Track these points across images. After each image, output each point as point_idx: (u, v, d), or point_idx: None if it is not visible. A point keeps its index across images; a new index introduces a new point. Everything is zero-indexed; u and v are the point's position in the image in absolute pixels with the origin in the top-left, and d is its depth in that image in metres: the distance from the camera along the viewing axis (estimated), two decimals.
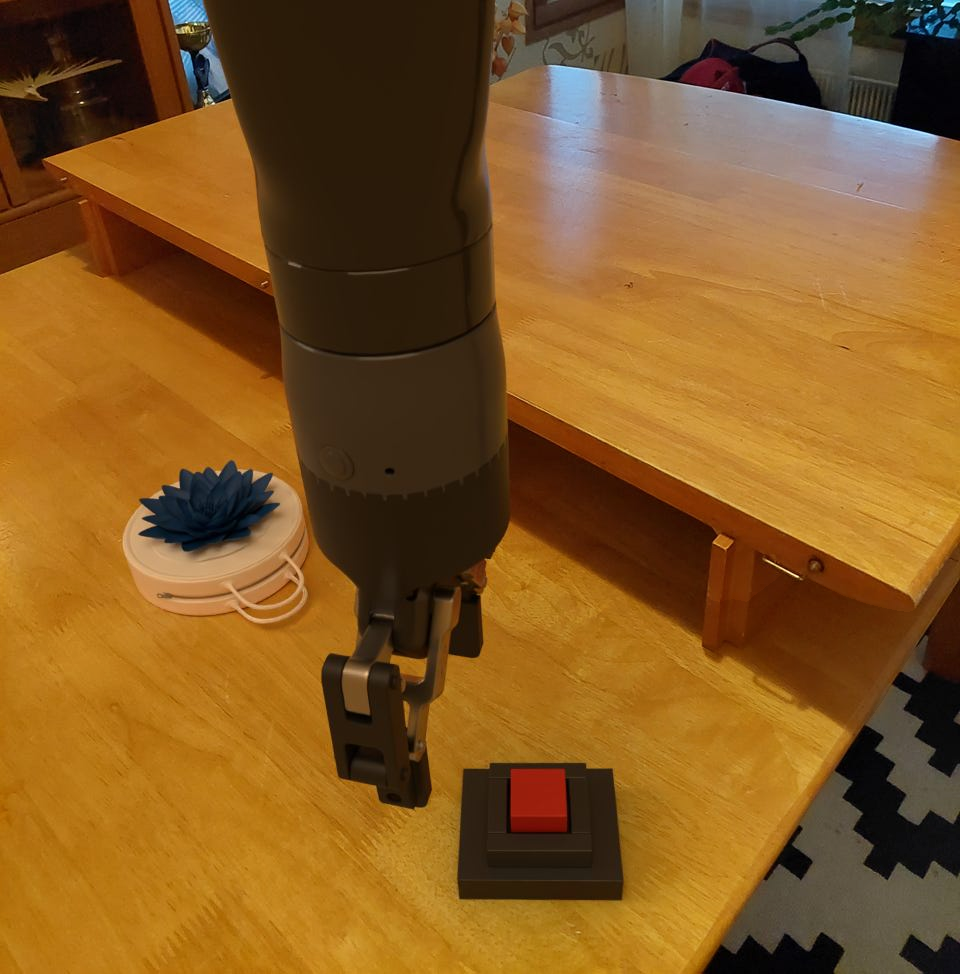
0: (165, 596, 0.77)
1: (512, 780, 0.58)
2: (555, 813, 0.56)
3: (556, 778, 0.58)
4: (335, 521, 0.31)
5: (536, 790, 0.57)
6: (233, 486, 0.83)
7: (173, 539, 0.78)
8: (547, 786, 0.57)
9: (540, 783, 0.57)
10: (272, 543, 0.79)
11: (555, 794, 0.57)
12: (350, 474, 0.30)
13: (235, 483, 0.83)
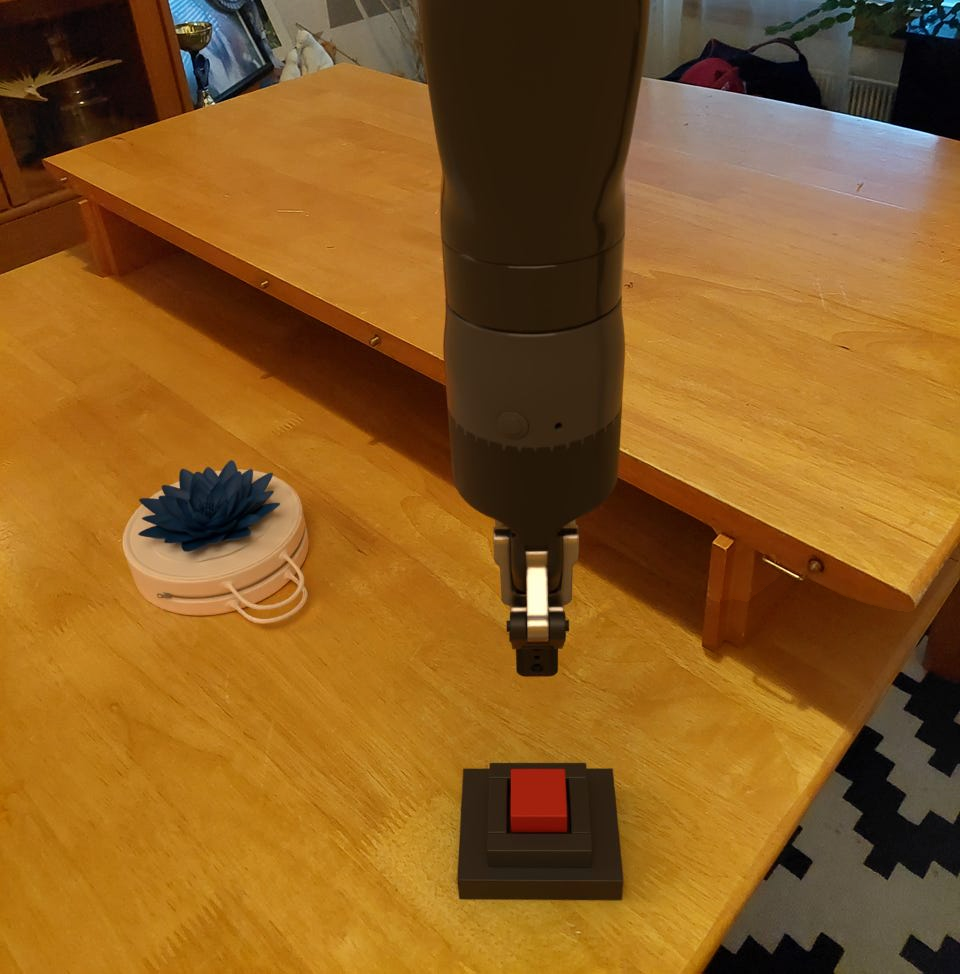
0: (165, 596, 0.77)
1: (512, 780, 0.58)
2: (555, 813, 0.56)
3: (556, 778, 0.58)
4: (502, 476, 0.38)
5: (536, 790, 0.57)
6: (233, 486, 0.83)
7: (173, 539, 0.78)
8: (547, 786, 0.57)
9: (540, 783, 0.57)
10: (272, 543, 0.79)
11: (555, 794, 0.57)
12: (525, 433, 0.36)
13: (235, 483, 0.83)
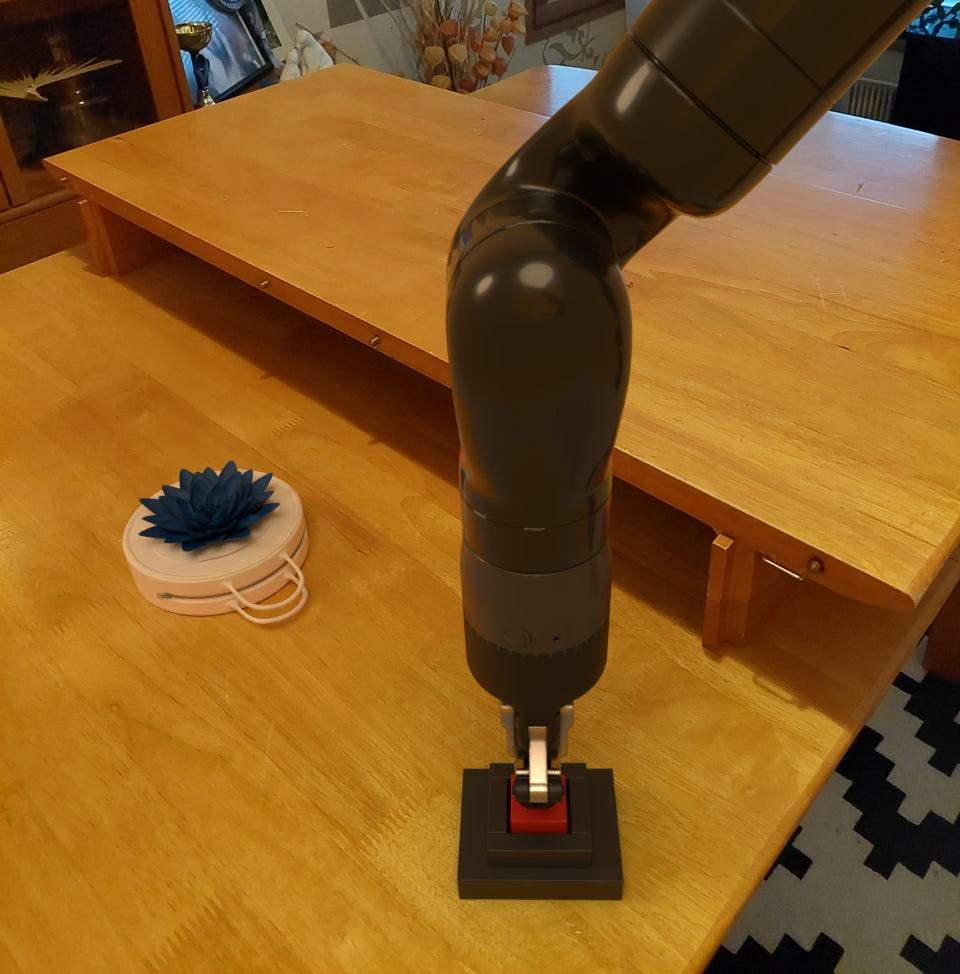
0: (165, 596, 0.77)
1: None
2: (555, 818, 0.56)
3: None
4: (509, 672, 0.45)
5: None
6: (233, 486, 0.83)
7: (173, 539, 0.78)
8: None
9: None
10: (272, 543, 0.79)
11: None
12: (528, 644, 0.44)
13: (235, 483, 0.83)
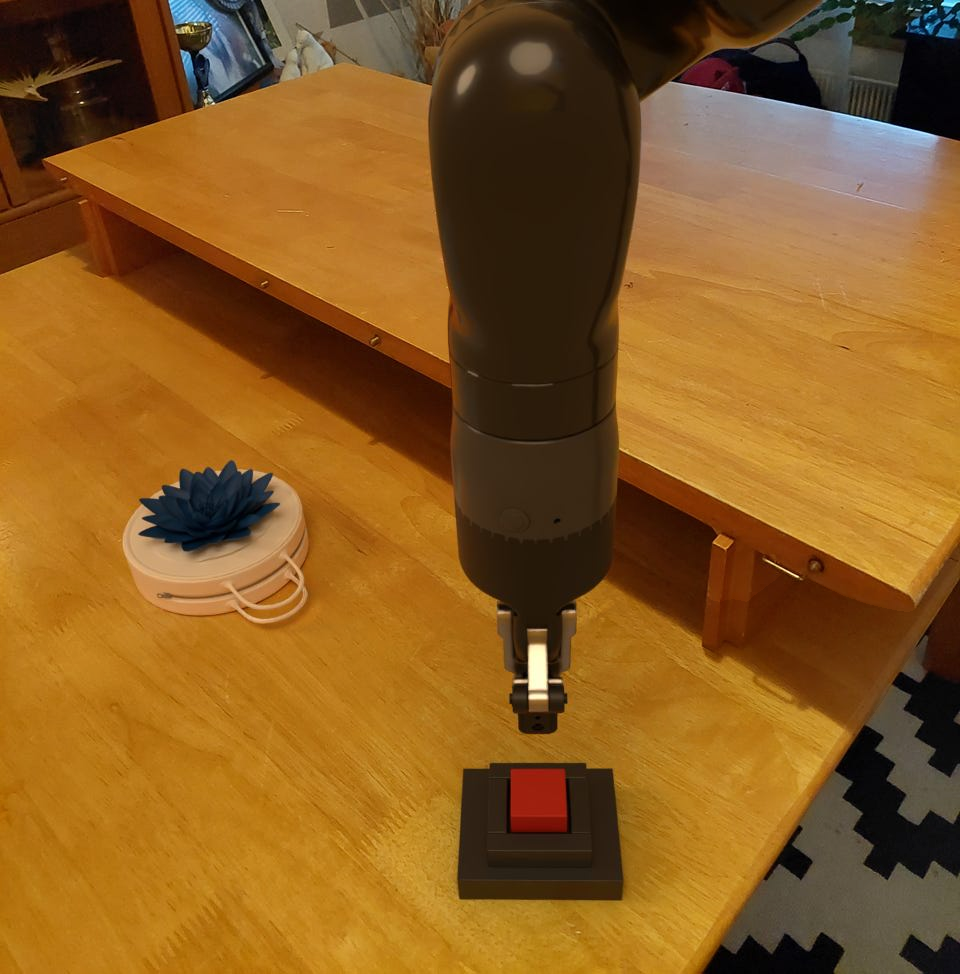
0: (165, 596, 0.77)
1: (512, 780, 0.58)
2: (555, 813, 0.56)
3: (556, 778, 0.58)
4: (505, 563, 0.41)
5: (536, 790, 0.57)
6: (233, 486, 0.83)
7: (173, 539, 0.78)
8: (547, 786, 0.57)
9: (540, 783, 0.57)
10: (272, 543, 0.79)
11: (555, 794, 0.57)
12: (526, 527, 0.39)
13: (235, 483, 0.83)
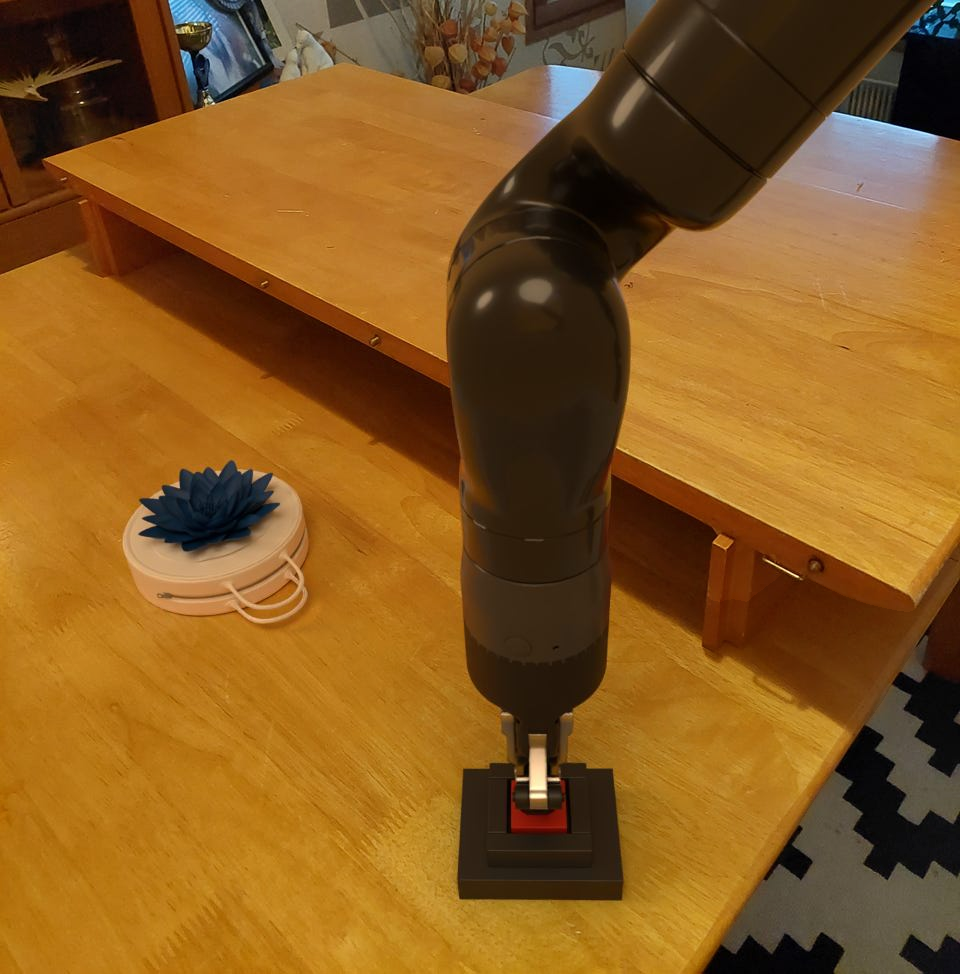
0: (165, 596, 0.77)
1: (512, 791, 0.58)
2: (555, 824, 0.56)
3: None
4: (509, 681, 0.46)
5: None
6: (233, 486, 0.83)
7: (173, 539, 0.78)
8: None
9: None
10: (272, 543, 0.79)
11: None
12: (528, 653, 0.44)
13: (235, 483, 0.83)
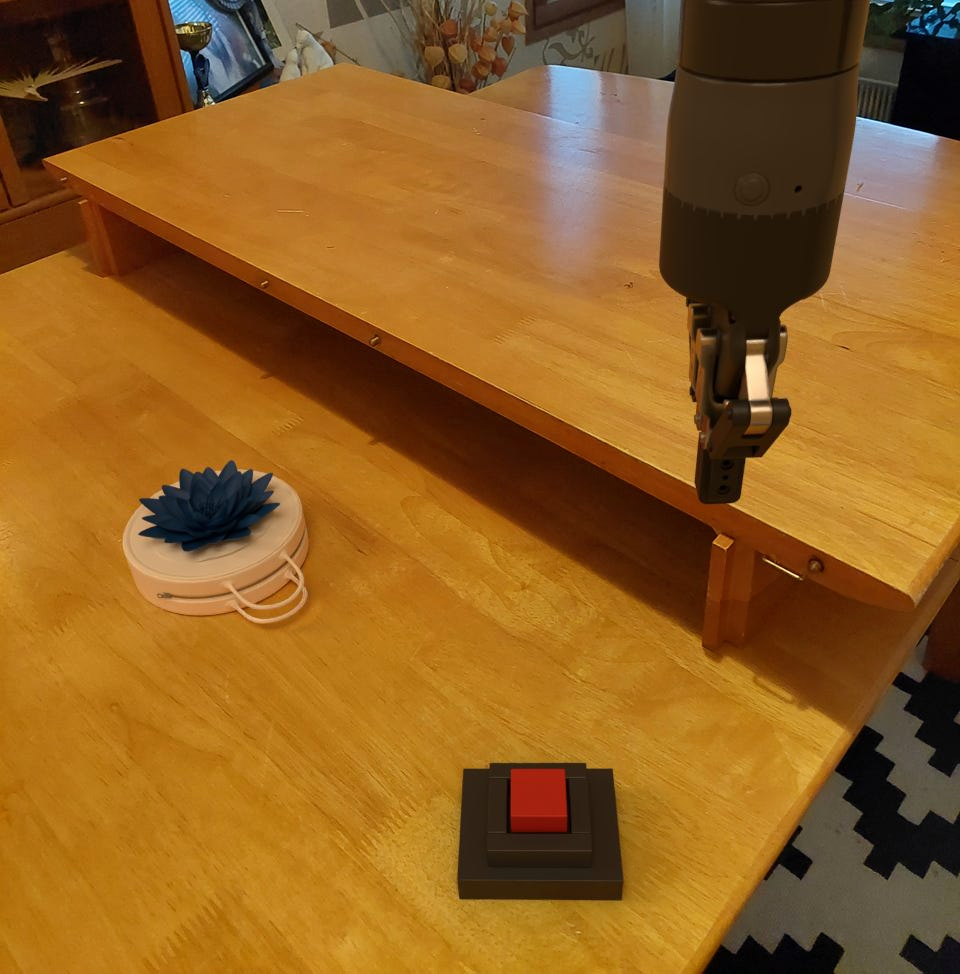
0: (165, 596, 0.77)
1: (512, 780, 0.58)
2: (555, 813, 0.56)
3: (556, 778, 0.58)
4: (732, 251, 0.38)
5: (536, 790, 0.57)
6: (233, 486, 0.83)
7: (173, 539, 0.78)
8: (547, 786, 0.57)
9: (540, 783, 0.57)
10: (272, 543, 0.79)
11: (555, 794, 0.57)
12: (764, 197, 0.36)
13: (235, 483, 0.83)
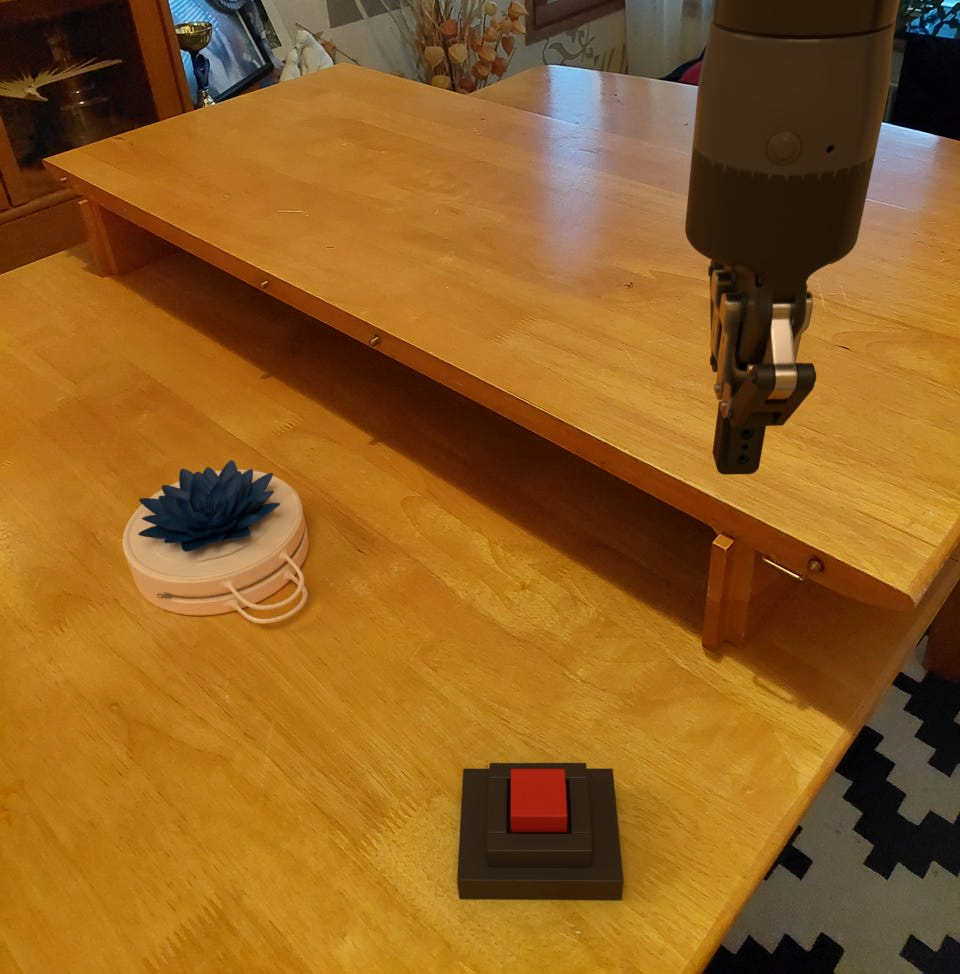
0: (165, 596, 0.77)
1: (512, 780, 0.58)
2: (555, 813, 0.56)
3: (556, 778, 0.58)
4: (761, 212, 0.38)
5: (536, 790, 0.57)
6: (233, 486, 0.83)
7: (173, 539, 0.78)
8: (547, 786, 0.57)
9: (540, 783, 0.57)
10: (272, 543, 0.79)
11: (555, 794, 0.57)
12: (796, 156, 0.36)
13: (235, 483, 0.83)
